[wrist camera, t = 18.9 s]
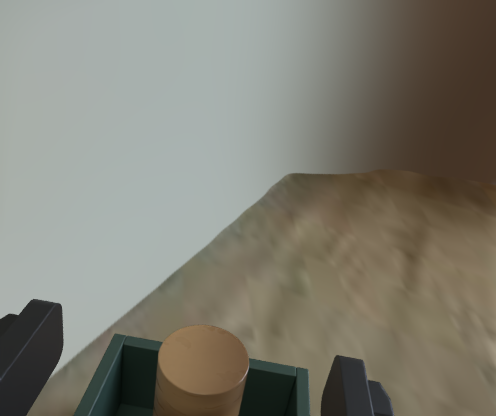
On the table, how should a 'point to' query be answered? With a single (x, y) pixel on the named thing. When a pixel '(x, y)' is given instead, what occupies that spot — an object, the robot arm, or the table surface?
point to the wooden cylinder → (200, 373)
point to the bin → (144, 380)
